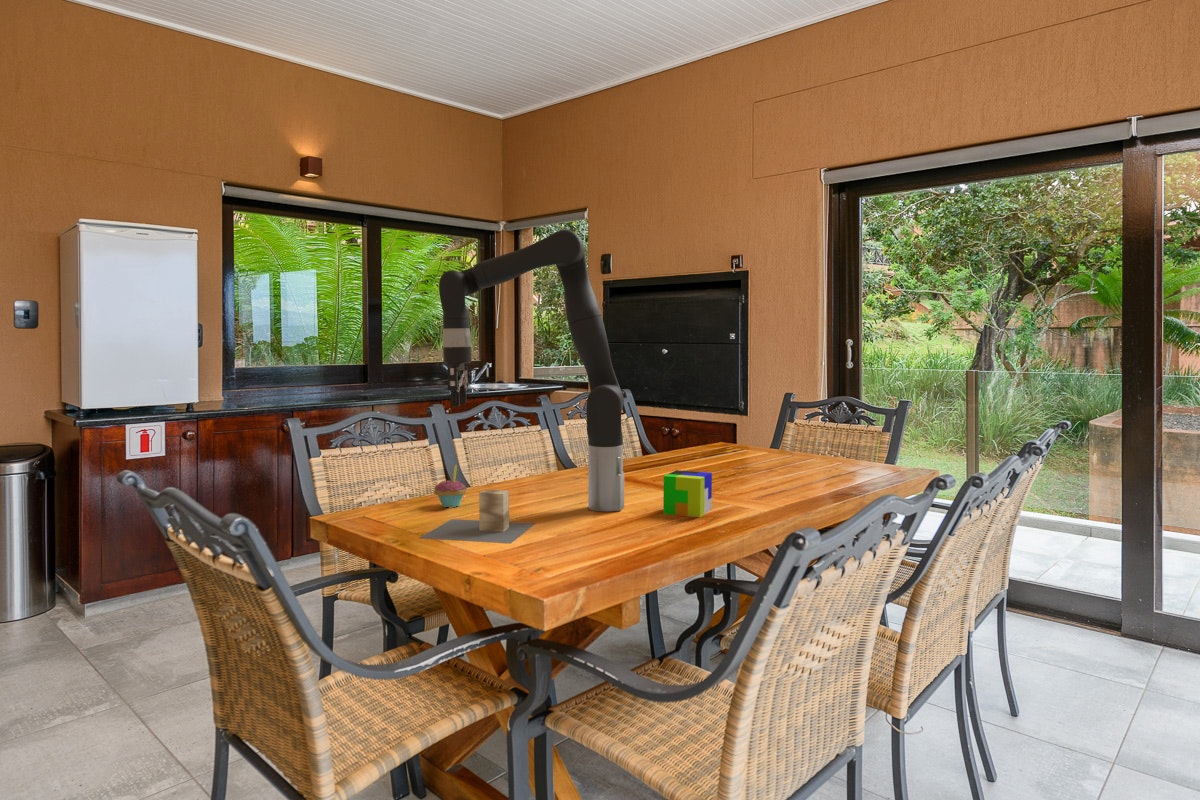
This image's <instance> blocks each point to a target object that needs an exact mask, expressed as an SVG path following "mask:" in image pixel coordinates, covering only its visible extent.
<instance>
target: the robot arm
mask: <svg viewBox="0 0 1200 800" xmlns="http://www.w3.org/2000/svg"><path fill="white" fill-rule="evenodd" d="M554 265H556V268H557V271H558V273H559V276H560V279H561V283H562V287H563V292H564V304H565V312H566V313H565V314H566V321H567V324H568V329H569V333H570V336H571V340H572V343H573V345H574V347H575V349H576V352H577V354H578V357H579V358H580V360H581V363H582V365H583V366H584V369H585V371H586V376H587V380H588V385H589V394H588V396H587V398H586V406H585V407H586V434H587V439H588V441H587V442H588V445H587V446H588V452H587V453H588V461H587V463H588V465H587V466H588V478H587V479H588V481H587V482H588V487H587V489H588V490H587V492H588V499H587V502H588V505H587V507H588V509H589V510H591V511H595V512H621V511H622V510H623V508H624V507H625V471H623V469H624V467H623V464H624V462H623V461H624V460H623V457H624V453H623V447H624V446H623V445H624V441H623V440H624V437H623V431H622V410H623V408H624V405H625V397H624V393H623V392H622V388H621V387H620V384H619V381H618V379H617V376H616V373H615V370H614V368H613V367H614V366H613V363H612V358H611V351H610V346H609V342H608V337H607V332H606V328H605V327H606V326H605V323H604V319H603V316H602V312H601V309H600V306H599V304H598V300H597V297H596V295H595V291H594V289H593V287H592V284H591V281H590V276H589V272H588V271H589V270H588V265H587V258H586V251H585V245H584V242H583V241H582V239H581V237H580V236H579V235H578V234H577V233H576V232H574V231H573V230H570V229H560V230H557V231H556V232H553V233H552V234H550V235H548V236H546V237H544V238H542V239H540V240H539V241H537V242H534V243H532V244H530V245H527V246H525V247H523V248H519V249H517V250H514V251H511V252H508V253H505V254H501V255H498V256H495V257H492V258H488V259H486V260H482V261H480V262H477V263H476V264H475V265H474V266H473V267H470V268H467V269H464V270H463V269H462V270H460V271H457V270H454V269H450V270H447V271H444V272H443V273H442V274H441V276H440V277H439V281H438V292H439V293H438V294H439V299H440V304H441V309H442V325H443V326H442V327H443V333H442V356H443V357H442V359H443V364H450V367H447V370H446V371H447V373H446V374H447V391H449V393H450V406H451V407H452V408H453V407H454V408H455V407H456V408H457V407H460V405H466V404H467V391H468V388H469V373H468V371H469V370H468V369H469V367H468V366H465V364H470V363H471V362H472V361H473V359H472V336H471V331H470V330H471V326H470V312H469V309H468V308H467V306H466V297H467V296H468V297H469V296H470V295H472V294H475V293H477V292H479V291H481V290H483V289H487V288H491V287H494V286H498V285H500V284H504V283H506V282H509V281H512V280H514V279H516V278H518V277H519V276H522V275H524V274H526V273H528V272H530V271H532V270H536V269H539V268H543V267H547V266H548V267H549V266H554Z"/></svg>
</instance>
